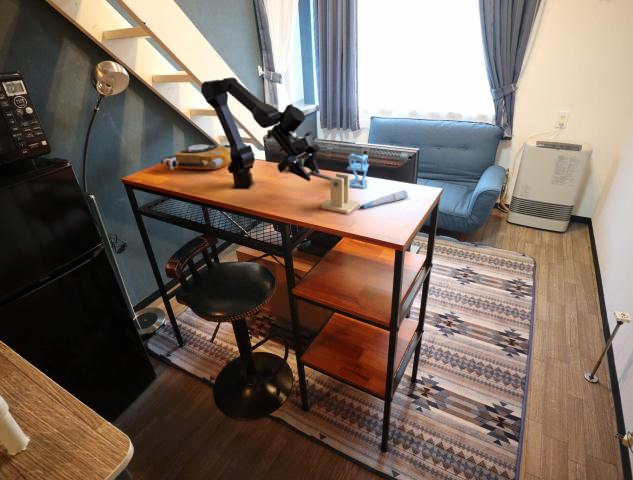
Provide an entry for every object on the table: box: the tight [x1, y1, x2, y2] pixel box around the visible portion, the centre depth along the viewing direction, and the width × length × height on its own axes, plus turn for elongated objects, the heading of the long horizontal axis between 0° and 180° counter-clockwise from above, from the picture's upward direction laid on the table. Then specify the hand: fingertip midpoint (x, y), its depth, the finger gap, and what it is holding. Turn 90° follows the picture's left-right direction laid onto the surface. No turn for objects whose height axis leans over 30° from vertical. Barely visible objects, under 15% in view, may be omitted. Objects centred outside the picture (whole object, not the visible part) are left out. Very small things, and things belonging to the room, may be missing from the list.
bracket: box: [320, 172, 359, 215], centre depth 114 cm, size 10×8×11 cm
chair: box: [346, 153, 370, 189], centre depth 131 cm, size 8×8×12 cm
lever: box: [307, 169, 345, 185], centre depth 114 cm, size 13×6×2 cm, turn 59°
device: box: [160, 144, 232, 170], centre depth 158 cm, size 23×8×30 cm
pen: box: [358, 189, 409, 209], centre depth 116 cm, size 19×3×3 cm, turn 118°
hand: (314, 177), depth 116 cm, fingers closed on lever, 5 cm apart
